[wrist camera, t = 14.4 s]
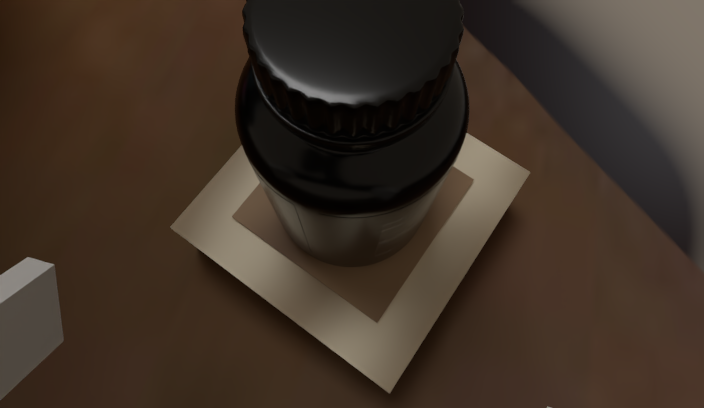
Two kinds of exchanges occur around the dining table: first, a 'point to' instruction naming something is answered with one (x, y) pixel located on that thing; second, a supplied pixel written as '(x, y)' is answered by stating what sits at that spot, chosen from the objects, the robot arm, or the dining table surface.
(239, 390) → the dining table surface
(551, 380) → the dining table surface
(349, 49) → the supplement bottle
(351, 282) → the plate
